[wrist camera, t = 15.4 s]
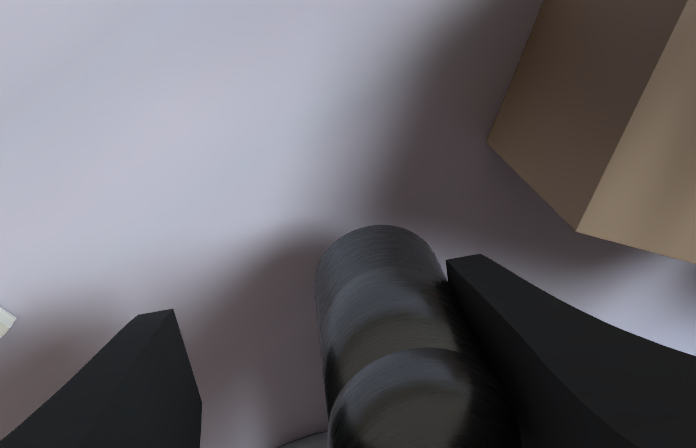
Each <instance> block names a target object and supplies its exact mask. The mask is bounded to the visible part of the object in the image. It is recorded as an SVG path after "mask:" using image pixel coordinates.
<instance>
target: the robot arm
mask: <svg viewBox="0 0 696 448" xmlns="http://www.w3.org/2000/svg"><path fill="white" fill-rule="evenodd" d="M446 266H447V276H448V283H449V285H450V287H451V289H452V291H453V293H454V295H455V297H456V299H457V301H458V303H459V305H460V307H461V309H462V311H463V313H464V316H465V318H466V320H467V322H468V324H469V326H470V328H471V330H472V332H473V334H474V336H475V338H476V340H477V342H478V344H479V346H480V348H481V350H482V352H483V354H484V356H485V358H486V360H487V362H488V364H489V366H490V368H491V370H492V372H493V374H494V377H495V378H496V379H497V380H498V381H499V383H500V384H501V385H502V387H503V388H504V390H505V391H506V393H507V395H508V396H509V398H510V400H511V402H512V404H513V407H514V410H515V412H516V415H517V418H518V422H519V427H520V432H521V440H522V448H696V356H693V355H690V354H687V353H684V352H681V351H678V350H675V349H672V348H669V347H666V346H663V345H660V344H658V343H655V342H653V341H650V340H647V339H645V338H642V337H640V336H637V335H634V334H632V333H629V332H626V331H624V330H622V329H619V328H617V327H615V326H612V325H610V324H608V323H606V322H603V321H601V320H599V319H597V318H595V317H593V316H591V315H589V314H587V313H585V312H583V311H581V310H578V309H576V308H574V307H572V306H571V305H569V304H567V303H565V302H563V301H561V300H559V299H557V298H555V297H554V296H552V295H550V294H548V293H546V292H545V291H543V290H541V289H539V288H538V287H536V286H534V285H532V284H531V283H529V282H527V281H526V280H524V279H522V278H521V277H519V276H517V275H516V274H514V273H512V272H511V271H509V270H507V269H506V268H504V267H502V266H501V265H499V264H497V263H496V262H494V261H492V260H491V259H489V258H487V257H485V256H484V255H482V254H477V255H471V256H465V257H460V258H454V259H449V260H446ZM201 413H202V401H201V398H200V395H199V391H198V388H197V385H196V382H195V378H194V375H193V372H192V369H191V365H190V362H189V359H188V356H187V352H186V349H185V346H184V343H183V339H182V336H181V333H180V330H179V326H178V323H177V320H176V317H175V313H174V310H173V309H169V310H163V311H158V312H152V313H146V314H141V315H138V316H136V317H135V318H134V319H133V320H131V321H130V322H129V323H128V324H127V325H126V326H125V327H124V328H123V329H122V330H121V331H119V332H118V333H117V334H116V335H115V336H114V337H113V338H112V339H111V340H110V341H109V342H108V343H107V344H106V345H105V346H104V347H103V348H102V349H101V350H100V351H99V352H98V353H97V354H96V355H95V356H94V357H93V358H92V359H91V360H90V361H89V362H88V363H87V364H86V365H85V366H84V367H83V368H82V369H81V370H80V371H79V372H78V373H77V374H76V375H75V376H74V377H73V378H72V379H70V380H69V381H68V382H67V383H66V384H65V385H64V386H63V387H62V388H61V389H60V390H59V391H57V392H56V393H55V394H54V395H53V396H52V397H51V398H50V399H49V400H47V401H46V402H45V403H44V404H43V405H42V406H41V407H40V408H38V409H37V410H36V411H35V412H34V413H33V414H32V415H31V416H30V417H28V418H27V419H26V420H25V421H24V422H23V423H22V424H21V425H19V426H18V427H17V428H16V429H15V430H13V431H12V432H11V433H10V434H9V435H7V436H6V437H5V438H4V439H2V440H1V441H0V448H200V435H201Z"/></svg>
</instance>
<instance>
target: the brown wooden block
mask: <svg viewBox="0 0 696 448" xmlns="http://www.w3.org/2000/svg"><path fill="white" fill-rule="evenodd" d="M486 143H487V144H488V145H489V146H490V147H491V148H492V149H493V150H494V151H495V152H496V153H497V154H498V155H499V156H500V157H501V158H502V159H503V160H504V161H505V162H506V163H507V164H508V165H509V166H510V167H511V168H512V169H513V170H514V171H515V172H516V173H517V174H518V175H519V176H520V177H521V178H522V179H523V180H524V181H525V182H526V183H527V184H528V185H529V186H530V187H531V188H532V189H533V190H534V191H535V192H536V193H537V194H538V195H539V196H540V197H541V198H542V199H543V200H544V201H545V202H546V203H547V204H548V205H549V206H550V207H551V208H552V209H553V210H554V211H555V212H556V213H557V214H558V215H559V216H560V217H561V218H562V219H563V220H564V221H565V222H566V223H567V224H568V225H569V226H570V227H571V228H572V229H573V230H574V231H575V232H579V233H582V234H586V235H590V236H594V237H597V238H601V239H605V240H608V241H612V242H616V243H620V244H623V245H627V246H631V247H634V248H638V249H642V250H646V251H649V252H653V253H657V254H660V255H664V256H668V257H672V258H675V259H679V260H683V261H686V262H690V263H694V264H696V0H544V2H543V4H542V7H541V9H540V11H539V14H538V16H537V19H536V21H535V24H534V26H533V29H532V31H531V34H530V36H529V38H528V41H527V43H526V46H525V48H524V51H523V53H522V56H521V58H520V61H519V63H518V65H517V68H516V70H515V73H514V75H513V78H512V80H511V83H510V85H509V88H508V90H507V92H506V95H505V97H504V100H503V102H502V105H501V107H500V110H499V112H498V115H497V117H496V119H495V122H494V124H493V127H492V129H491V132H490V134H489V137H488V139H487V142H486Z"/></svg>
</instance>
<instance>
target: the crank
mask: <svg viewBox="0 0 696 448" xmlns="http://www.w3.org/2000/svg"><path fill="white" fill-rule="evenodd" d="M314 288H315V298H316V307H317V317H318V327H319V336H320V346H321V356H322V365H323V375H324V385H325V394H326V404H327V414H328V430H327V448H522V440H521V432H520V427H519V422H518V418H517V415H516V412H515V410H514V407H513V404H512V402H511V400H510V398H509V396H508V395H507V393H506V391H505V390H504V388H503V387H502V385H501V384H500V383H499V381H498V380H497V379H496V378H495V377H494V374H493V372H492V370H491V368H490V366H489V364H488V362H487V360H486V358H485V356H484V354H483V352H482V350H481V348H480V346H479V344H478V342H477V340H476V338H475V336H474V334H473V332H472V330H471V328H470V326H469V324H468V322H467V320H466V318H465V316H464V313H463V311H462V309H461V307H460V305H459V303H458V301H457V299H456V297H455V295H454V293H453V291H452V289H451V287H450V285H449V283H448V281H447V279H446V277H445V275H444V273H443V271H442V268H441V266H440V264H439V262H438V260H437V258H436V256H435V254H434V252H433V251H432V249H431V248H430V247H429V245H428V244H427V243H426V242H425V241H424V240H423V239H421V238H420V237H419V236H418V235H416V234H414V233H412V232H411V231H408V230H406V229H403V228H400V227H396V226H389V225H375V226H368V227H363V228H360V229H357V230H354V231H352V232H350V233H348V234H346V235H344V236H343V237H341V238H340V239H338V240H337V241H336V242H335V243H334V244H333V245H332V246H331V247H330V248H329V249H328V250H327V251H326V253H325V254H324V255H323V257H322V259H321V261H320V263H319V265H318V268H317V270H316V275H315V282H314Z"/></svg>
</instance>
